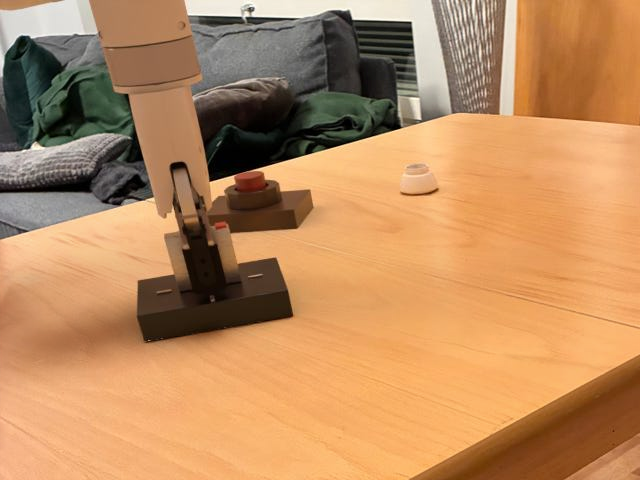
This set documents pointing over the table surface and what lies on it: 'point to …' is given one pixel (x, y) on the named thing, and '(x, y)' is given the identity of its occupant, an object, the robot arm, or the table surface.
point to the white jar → (418, 179)
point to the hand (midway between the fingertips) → (208, 278)
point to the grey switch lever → (225, 250)
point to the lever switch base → (212, 302)
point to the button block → (261, 208)
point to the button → (250, 181)
